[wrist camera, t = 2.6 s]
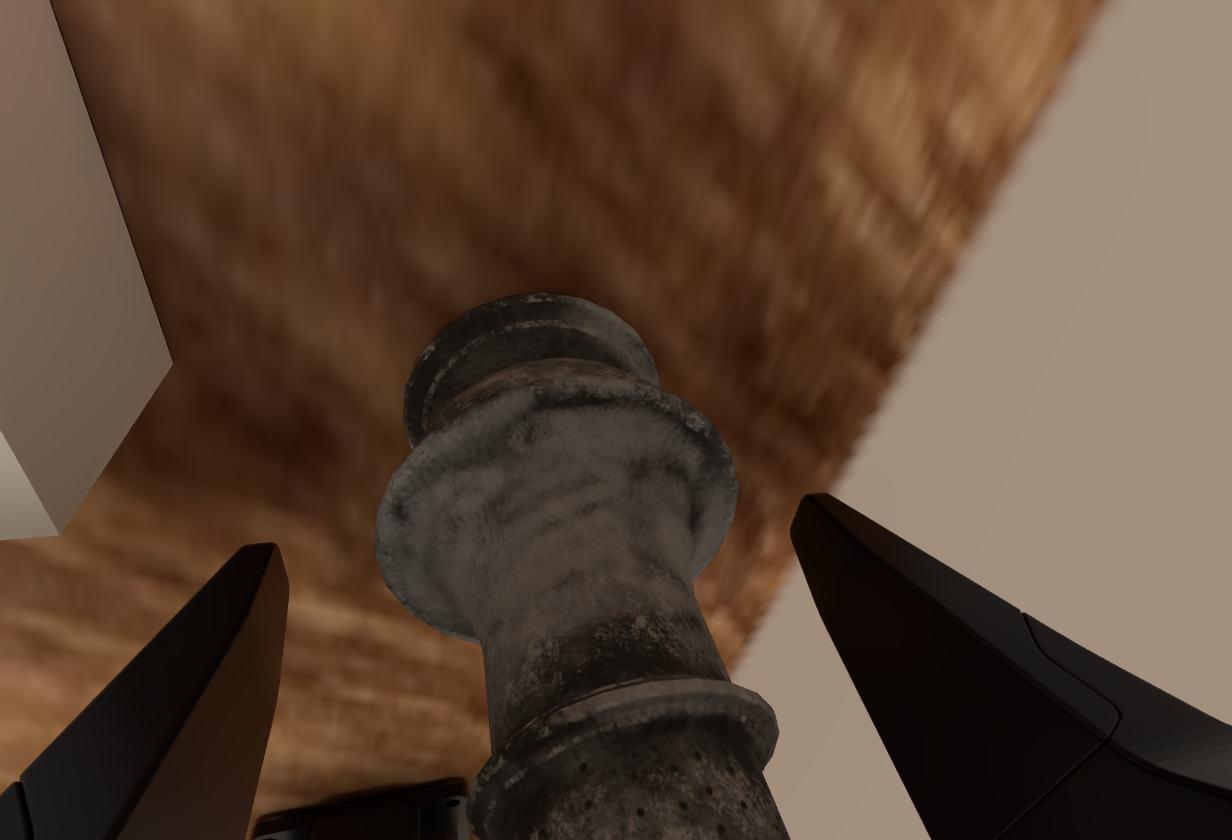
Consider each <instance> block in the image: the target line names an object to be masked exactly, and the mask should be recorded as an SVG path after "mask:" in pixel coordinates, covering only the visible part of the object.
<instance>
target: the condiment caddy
mask: <svg viewBox="0 0 1232 840" xmlns="http://www.w3.org/2000/svg"><path fill="white" fill-rule="evenodd" d="M172 365H173V362H172V359H171V356H170V353H169V350H168V347H167V344H166V341H165V338H164V335H163V332H162V329H161V327H160V324H159V321H158V318H157V315H156V312H155V309H154V306H153V303H152V300H151V297H150V294H149V291H148V288H147V285H146V283H145V280H144V277H143V274H142V271H141V268H140V265H139V262H138V259H137V256H136V253H135V250H134V247H133V244H132V241H131V239H130V236H129V233H128V230H127V227H126V224H125V221H124V218H123V215H122V212H121V209H120V206H119V203H118V200H117V197H116V195H115V192H114V189H113V186H112V183H111V180H110V177H109V174H108V171H107V168H106V165H105V162H104V159H103V156H102V153H101V151H100V148H99V145H98V142H97V139H96V136H95V133H94V130H93V127H92V124H91V121H90V118H89V115H88V112H87V109H86V107H85V104H84V101H83V98H82V95H81V92H80V89H79V86H78V83H77V80H76V77H75V74H74V71H73V68H72V65H71V63H70V60H69V57H68V54H67V51H66V48H65V45H64V42H63V39H62V36H61V33H60V30H59V27H58V24H57V21H56V19H55V16H54V13H53V10H52V7H51V4H50V1H49V0H0V541H2V540H14V539H26V538H38V537H51V536H60V535H61V534H62V532H63V531H64V529H65V528H66V526H67V525H68V523H69V521H70V520H71V518H72V517H73V515H74V514H75V512H76V511H77V509H78V508H79V506H80V505H81V503H82V502H83V500H84V499H85V497H86V496H87V494H88V493H89V491H90V490H91V488H92V487H93V485H94V484H95V482H96V480H97V479H98V477H99V476H100V474H101V473H102V471H103V470H104V468H105V467H106V465H107V464H108V462H109V461H110V459H111V458H112V456H113V455H114V453H115V452H116V450H117V449H118V447H119V446H120V444H121V442H122V441H123V439H124V438H125V436H126V435H127V433H128V432H129V430H130V429H131V427H132V426H133V424H134V423H135V421H136V420H137V418H138V417H139V415H140V414H141V412H142V411H143V409H144V408H145V406H146V405H147V403H148V401H149V400H150V398H151V397H152V395H153V394H154V392H155V391H156V389H157V388H158V386H159V385H160V383H161V382H162V380H163V379H164V377H165V376H166V374H167V373H168V371H169V370H170V368H171V367H172Z"/></svg>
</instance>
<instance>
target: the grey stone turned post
mask: <svg viewBox="0 0 1232 840" xmlns="http://www.w3.org/2000/svg"><path fill="white" fill-rule="evenodd" d="M403 422H404V426H405V430H406V433H407V437H408V441H409V445H410V448H411V450H412V451H411V452H410V454H409V455H408V456H407V457H406V458H405V459H404V460H403V461H402V462H401V464H400V465H399V466H398V467H397V468H396V469H395V471H394V473H393V475H392V477H391V480H390V482H389V484H388V486H387V488H386V491H385V493H384V495H383V497H382V500H381V502H380V504H379V506H378V508H377V517H376V533H375V550H374V552H375V555H376V558H377V561H378V564H379V567H380V570H381V572H382V575H383V578H384V581H385V584H386V586H387V587H388V588H389V589H390V591H391V592H392V593H393V594H394V595H395V596H396V598H397V599H398V600H399V601H400V602H401V603H402V605H403V606H404V607H405V608H406V609H407V610H408V612H409V613H411V614H413V615H414V616H416V617H417V618H419V619H421V620H422V621H424V622H425V623H427V624H429V625H430V626H432V627H433V628H435V629H437V630H438V631H440V632H441V633H444V634H447V635H450V636H453V637H456V638H459V639H462V640H465V641H469V642H472V643H475V644H478V645H481V648H482V651H483V654H484V666H485V678H486V691H487V703H488V715H489V727H490V739H491V752H492V756H491V757H490V759H489V760H488V761H487V763H486V764H485V765H484V767H483V768H482V770H481V771H480V772H479V774H478V775H477V777H476V778H475V779H474V781H473V782H472V783H471V786H470V790H469V795H468V799H467V804H466V816H467V819H468V822H469V824H470V827H471V829H472V832H473V834H474V835H475V836H476V837H478V838H479V839H480V840H790V837H789V835H788V832H787V830H786V828H785V826H784V823H783V820H782V818H781V816H780V813H779V811H778V809H777V806H776V804H775V801H774V799H773V797H772V795H771V792H770V790H769V787H768V785H767V783H766V780H765V778H764V775H763V773H762V772H763V770H764V767H765V766H766V765H767V763H768V762H769V760H770V759H771V757H772V756H773V753H774V749H775V746H776V743H777V739H778V736H779V729H778V724H777V720H776V715H775V713H774V711H773V709H772V707H771V706H770V705H769V704H768V703H767V702H766V701H765V700H764V699H763V698H762V697H761V696H760V695H759V694H758V693H756V692H754V691H751V690H749V689H746V688H744V687H741V686H738V685H736V684H733V683H731V680H730V678H729V676H728V673H727V671H726V669H725V666H724V664H723V662H722V659H721V657H720V655H719V652H718V650H717V648H716V646H715V643H714V641H713V639H712V636H711V634H710V632H709V629H708V627H707V625H706V622H705V620H704V618H703V615H702V613H701V611H700V608H699V606H698V604H697V601H696V599H695V597H694V592H693V586H692V583H693V582H694V581H695V580H696V579H697V577H698V576H699V575H700V574H701V572H702V571H703V570H704V569H705V568H706V566H707V565H708V564H709V563H710V561H711V560H712V559H713V558H714V557H715V555H716V554H717V553H718V551H719V549H720V547H721V544H722V542H723V540H724V538H725V536H726V534H727V532H728V530H729V528H730V526H731V524H732V522H733V519H734V513H735V507H736V501H737V495H738V488H739V486H738V480H737V475H736V469H735V464H734V459H733V454H732V453H731V451H730V449H729V448H728V446H727V445H726V443H725V441H724V440H723V438H722V436H721V435H720V433H719V432H718V430H717V428H716V427H715V425H714V424H713V422H712V421H711V420H710V419H709V418H707V417H706V416H705V415H704V414H702V413H701V412H700V411H698V410H697V409H696V408H695V407H693V406H692V405H691V404H690V403H688V402H687V401H686V400H684V399H683V398H682V397H681V396H678V395H675V394H673V393H670V392H667V391H665V390H662V389H660V381H659V377H658V373H657V369H656V365H655V362H654V358H653V356H652V354H651V353H650V351H649V350H648V348H647V347H646V345H645V344H644V342H643V341H642V339H641V338H640V336H639V334H638V333H637V331H636V330H635V329H633V328H632V327H631V326H630V325H629V324H627V323H626V322H625V321H624V320H622V319H621V318H620V317H619V316H618V315H616V314H615V313H614V312H613V311H611V310H609V309H606V308H604V307H602V306H599V305H597V304H595V303H592V302H590V301H588V300H585V299H583V298H580V297H573V296H566V295H559V294H552V293H536V294H526V295H516V296H507V297H504V298H502V299H499V300H496V301H493V302H491V303H488V304H485V305H482V306H479V307H477V308H474V309H471V310H470V311H468V312H467V313H465V314H464V315H463V316H461V317H460V318H458V319H457V320H455V321H454V322H452V323H451V324H449V325H448V326H446V327H445V328H443V329H442V330H441V331H440V332H439V333H438V334H437V335H436V337H435V338H434V339H433V340H432V341H431V342H430V344H429V345H428V346H427V347H426V348H425V350H424V351H423V352H422V353H421V354H420V355H419V357H418V359H417V361H416V363H415V366H414V368H413V370H412V373H411V375H410V377H409V380H408V382H407V384H406V388H405V400H404V412H403Z"/></svg>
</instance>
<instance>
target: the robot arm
mask: <svg viewBox="0 0 1232 840" xmlns="http://www.w3.org/2000/svg"><path fill="white" fill-rule="evenodd" d="M790 536H791V540H792V543H793V546H794V549H795V551H796V554H797V557H798V559H799V562H800V565H801V567H802V570H803V573H804V575H805V578H806V581H807V583H808V586H809V588H810V591H811V594H812V596H813V599H814V602H815V604H816V607H817V609H818V612H819V614H820V616H821V619H822V621H823V623H824V625H825V627H826V629H827V631H828V633H829V635H830V637H831V639H832V641H833V643H834V645H835V647H836V649H837V651H838V653H839V655H840V657H841V659H842V661H843V663H844V665H845V667H846V669H847V671H848V673H849V675H850V677H851V679H852V681H853V683H854V685H855V687H856V690H857V692H858V694H859V696H860V697H861V700H862V702H863V703H864V706H865V708H866V710H867V712H868V714H869V715H870V718H871V720H872V722H873V724H874V725H875V728H876V729H877V732H878V734H879V736H880V738H881V740H882V742H883V744H884V746H885V748H886V750H887V752H888V754H889V756H890V758H891V760H892V762H893V764H894V766H895V768H896V770H897V772H898V774H899V776H900V778H901V780H902V782H903V784H904V786H905V788H906V790H907V792H908V794H909V796H910V798H911V800H912V802H913V804H914V806H915V808H916V810H917V812H918V814H919V816H920V818H921V820H922V822H923V824H924V826H925V828H926V830H927V832H928V834H929V836H930V838H931V840H1232V726H1231V725H1229V724H1226V723H1224V722H1222V721H1219V720H1218V719H1216V718H1214V717H1212V716H1210V715H1208V714H1206V713H1204V712H1202V711H1200V710H1199V709H1197V708H1195V707H1193V706H1191V705H1189V704H1187V703H1185V702H1184V701H1182V700H1180V699H1178V698H1176V697H1174V696H1172V695H1171V694H1169V693H1167V692H1165V691H1163V690H1161V689H1159V688H1157V687H1156V686H1154V685H1152V684H1150V683H1148V682H1146V681H1144V680H1143V679H1141V678H1139V677H1137V676H1135V675H1133V674H1131V673H1130V672H1128V671H1126V670H1124V669H1122V668H1120V667H1118V666H1116V665H1115V664H1113V663H1111V662H1109V661H1107V660H1106V659H1104V658H1102V657H1100V656H1098V655H1096V654H1095V653H1093V652H1091V651H1089V650H1087V649H1086V648H1084V647H1082V646H1080V645H1079V644H1077V643H1075V642H1073V641H1072V640H1070V639H1068V638H1067V637H1065V636H1063V635H1062V634H1060V633H1058V632H1056V631H1055V630H1053V629H1051V628H1050V627H1048V626H1046V625H1044V624H1043V623H1041V622H1040V621H1038V620H1036V619H1035V618H1033V617H1032V616H1030V615H1028V614H1027V613H1024V612H1023V613H1021V611H1020V610H1019V609H1018V608H1016V607H1015V606H1013V605H1012V604H1010V603H1008V602H1006V601H1005V600H1003V599H1001V598H1000V597H998V596H997V595H995V594H993V593H992V592H990V591H988V590H987V589H985V588H983V587H982V586H980V585H978V584H977V583H975V582H974V581H972V580H970V579H969V578H967V577H965V576H964V575H962V574H960V573H958V572H957V571H955V570H953V569H952V568H950V567H949V566H947V565H945V564H944V563H942V562H940V561H939V560H937V559H936V558H934V557H932V556H931V555H929V554H927V553H926V552H924V551H922V550H921V549H919V548H917V547H916V546H914V545H912V544H911V543H909V542H907V541H906V540H904V539H902V538H901V537H899V536H898V535H896V534H894V533H893V532H891V531H889V530H888V529H886V528H884V527H883V526H881V525H879V524H878V523H876V522H874V521H873V520H871V519H869V518H868V517H866V516H865V515H863V514H861V513H860V512H858V511H856V510H854V509H853V508H851V507H850V506H848V505H846V504H845V503H843V502H841V501H840V500H838V499H836V498H835V497H833V496H831V495H830V494H827V493H814V494H807V495H805V496H804V497H803V498H802V499H801V501H800V504H799V506H798V509H797V511H796V514H795V517H794V519H793V522H792V524H791V528H790ZM288 602H289V581H288V577H287V574H286V570H285V567H284V563H283V559H282V556H281V552H280V549H279V547H278V546H277V544H275V543H273V542H268V543H257V544H247V545H244V546H243V547H241V548H240V549H239V550H238V551H237V552H236V553H235V554H234V555H233V556H232V557H231V558H230V559H229V560H228V561H227V562H226V563H225V564H224V565H223V566H222V567H221V568H220V569H219V570H218V571H217V572H216V573H215V575H214V576H213V577H212V578H211V579H210V580H209V581H208V582H207V583H206V584H205V585H204V586H203V587H202V588H201V589H200V590H199V591H198V592H197V593H196V594H195V595H194V596H193V597H192V598H191V599H190V600H189V601H188V602H187V603H186V604H185V605H184V607H183V608H182V609H181V610H180V611H179V612H178V613H177V614H176V615H175V616H174V617H173V618H172V619H171V620H170V621H169V622H168V623H167V624H166V625H165V626H164V627H163V628H162V629H161V630H160V631H159V632H158V633H157V634H156V635H155V636H154V638H153V639H152V640H151V641H150V642H149V643H148V644H147V645H146V646H145V647H144V648H143V649H142V650H141V651H140V652H139V653H138V654H137V655H136V656H135V657H134V658H133V659H132V660H131V661H130V662H129V663H128V664H127V665H126V666H125V667H124V668H123V670H122V671H121V672H120V673H119V674H118V675H117V676H116V677H115V678H114V679H113V680H112V681H111V682H110V683H109V684H108V685H107V686H106V687H105V688H104V689H103V690H102V691H101V692H100V693H99V694H98V695H97V696H96V697H95V698H94V699H93V700H92V702H91V703H90V704H89V705H88V706H87V707H86V708H85V709H84V710H83V711H82V712H81V713H80V714H79V715H78V716H77V717H76V718H75V719H74V720H73V721H72V722H71V723H70V724H69V725H68V726H67V727H66V728H65V729H64V730H63V731H62V733H61V734H60V735H59V736H58V737H57V738H56V739H55V740H54V741H53V742H52V743H51V744H50V745H49V746H48V747H47V748H46V749H45V750H44V751H43V752H42V753H41V754H40V755H39V756H38V757H37V758H36V759H35V760H34V761H33V762H32V763H31V765H30V766H29V767H28V768H27V769H26V770H25V771H24V772H23V773H22V774H21V775H20V782H14V783H12V784H11V785H10V786H9V787H8V788H7V789H6V790H5V791H4V792H3V793H2V794H1V795H0V840H245V836H246V832H247V828H248V823H249V819H250V815H251V811H252V807H253V802H254V798H255V794H256V790H257V785H258V781H259V777H260V773H261V768H262V764H263V760H264V756H265V752H266V747H267V743H268V739H269V735H270V730H271V726H272V722H273V718H274V713H275V708H276V703H277V698H278V691H279V683H280V675H281V666H282V657H283V648H284V638H285V629H286V620H287V611H288ZM467 799H468V788H467V786H466V785H464V784H460V783H455V784H449V785H444V786H439V787H434V788H429V789H424V790H419V791H414V792H409V793H404V794H399V795H394V796H389V797H384V798H379V799H374V800H369V801H364V802H359V803H354V804H349V805H344V806H339V807H334V808H329V809H324V810H319V811H314V812H309V813H304V814H299V815H294V816H289V817H284V818H280V819H275V820H270V821H265V822H262V823H259V824H258V825H256V826H255V827H254V828H253V829H252V834H251V839H250V840H470V830H469V822H468V819H467V816H466V804H467Z"/></svg>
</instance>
